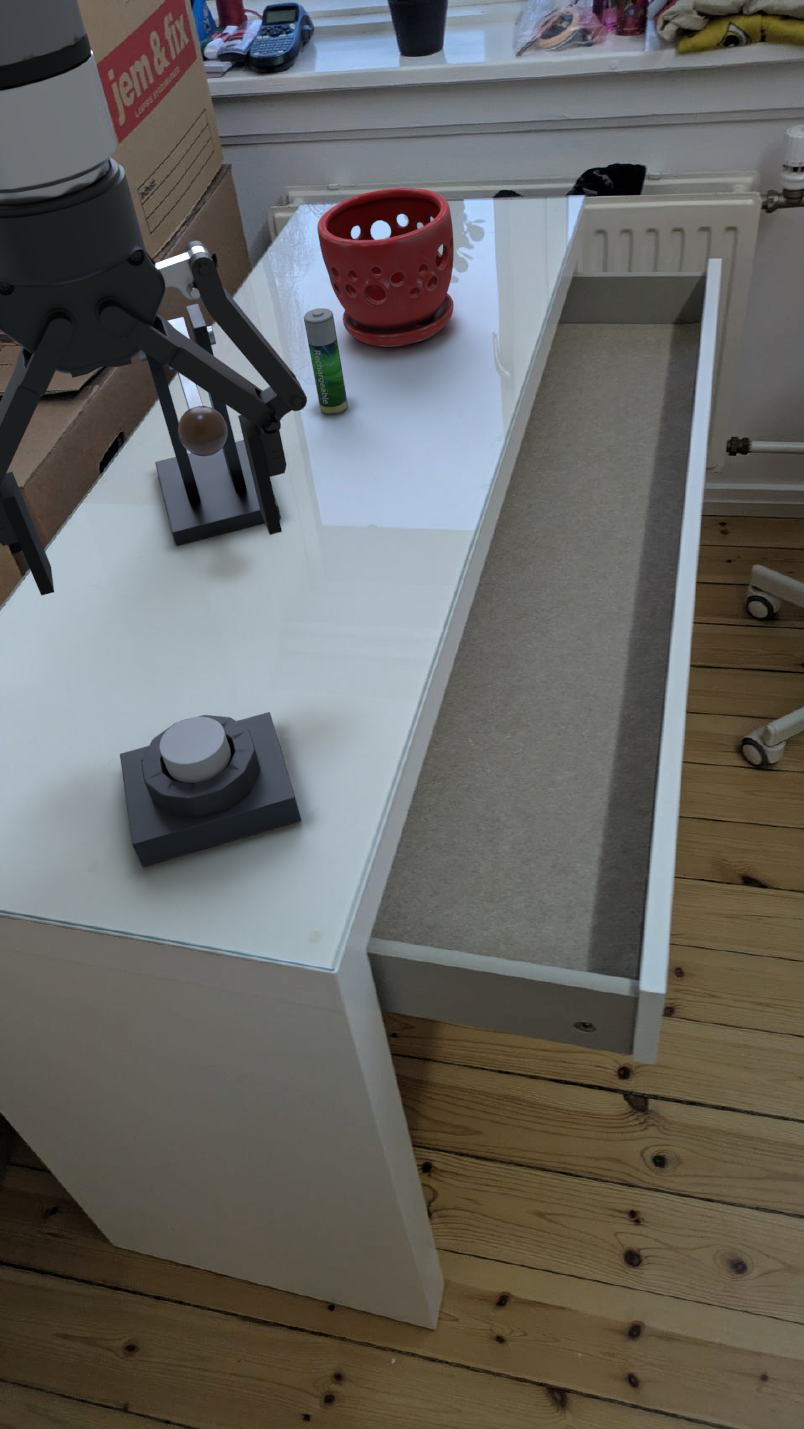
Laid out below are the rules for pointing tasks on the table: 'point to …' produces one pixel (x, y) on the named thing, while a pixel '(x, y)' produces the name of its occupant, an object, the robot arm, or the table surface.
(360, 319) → the flower pot
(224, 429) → the flush lever
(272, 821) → the button housing
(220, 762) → the flush button
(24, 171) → the robot arm
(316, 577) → the table surface
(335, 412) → the battery
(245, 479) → the lever bracket
